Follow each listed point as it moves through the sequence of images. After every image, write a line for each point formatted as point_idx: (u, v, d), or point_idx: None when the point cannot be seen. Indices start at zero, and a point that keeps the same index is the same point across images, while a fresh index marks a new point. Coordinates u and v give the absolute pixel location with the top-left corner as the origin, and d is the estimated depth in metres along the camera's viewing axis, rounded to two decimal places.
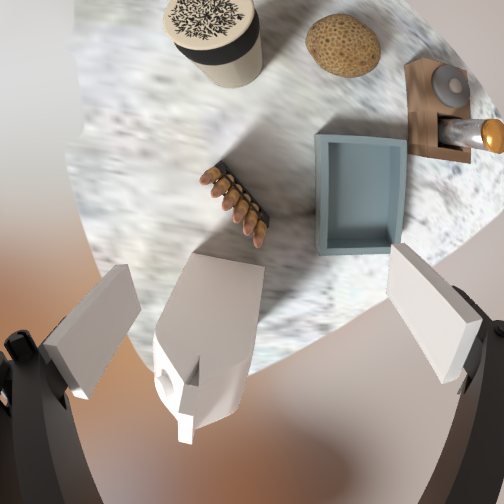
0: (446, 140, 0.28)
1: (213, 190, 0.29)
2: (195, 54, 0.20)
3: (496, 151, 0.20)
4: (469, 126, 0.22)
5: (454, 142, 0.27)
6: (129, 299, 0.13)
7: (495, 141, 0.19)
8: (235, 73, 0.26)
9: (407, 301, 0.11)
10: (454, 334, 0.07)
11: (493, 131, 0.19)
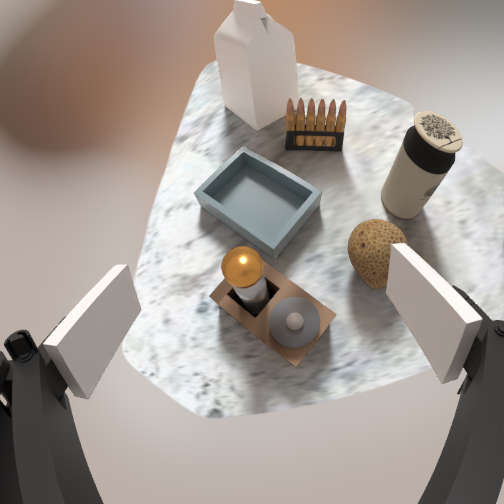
0: None
1: (335, 104, 0.40)
2: None
3: (229, 252, 0.27)
4: None
5: None
6: (129, 299, 0.13)
7: (239, 257, 0.27)
8: (394, 161, 0.38)
9: (407, 301, 0.11)
10: (454, 334, 0.07)
11: (250, 261, 0.27)
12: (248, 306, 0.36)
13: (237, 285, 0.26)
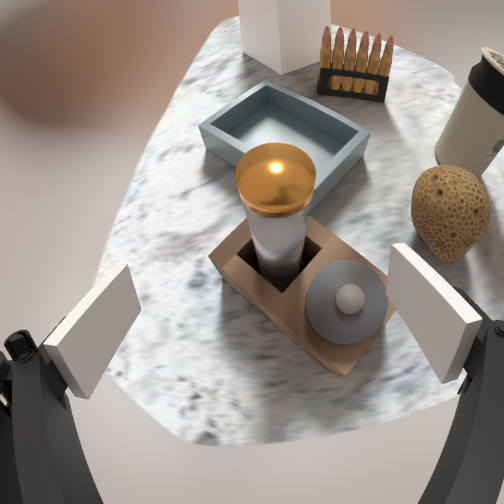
0: None
1: None
2: None
3: (252, 151, 0.14)
4: None
5: None
6: (129, 299, 0.13)
7: (271, 158, 0.13)
8: (455, 107, 0.24)
9: (407, 301, 0.11)
10: (454, 334, 0.07)
11: (292, 165, 0.13)
12: (269, 276, 0.23)
13: (265, 206, 0.13)
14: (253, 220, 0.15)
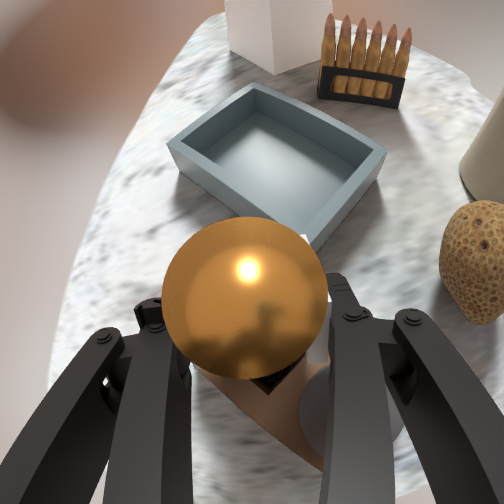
0: None
1: (396, 31, 0.20)
2: None
3: (197, 238, 0.07)
4: None
5: None
6: None
7: (234, 259, 0.07)
8: (489, 119, 0.18)
9: None
10: None
11: (279, 277, 0.06)
12: None
13: (219, 375, 0.06)
14: None
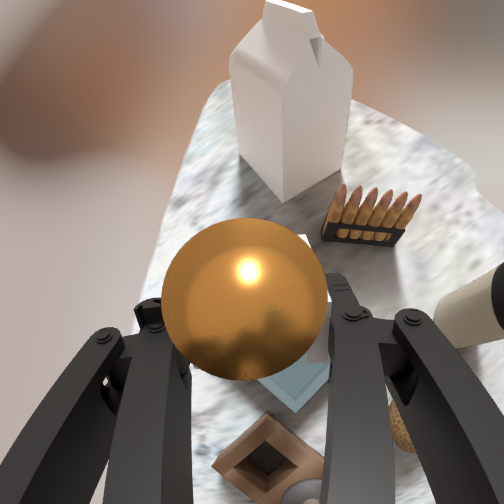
0: None
1: None
2: None
3: (197, 240, 0.07)
4: None
5: None
6: None
7: (234, 261, 0.07)
8: (467, 295, 0.25)
9: None
10: None
11: (279, 278, 0.06)
12: None
13: (219, 376, 0.06)
14: None
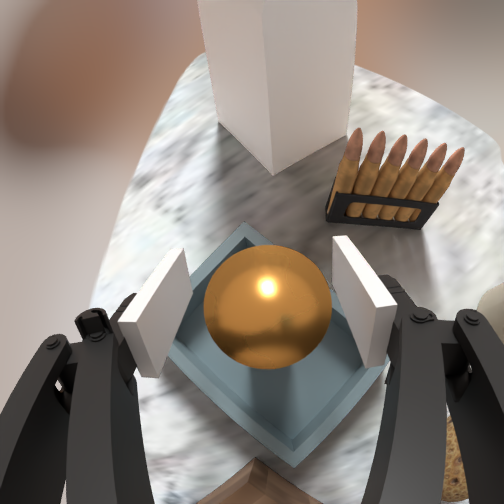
0: None
1: (445, 153, 0.17)
2: None
3: (231, 261, 0.09)
4: None
5: None
6: (185, 282, 0.14)
7: (261, 279, 0.09)
8: None
9: (343, 290, 0.12)
10: (370, 318, 0.09)
11: (295, 292, 0.08)
12: None
13: None
14: None
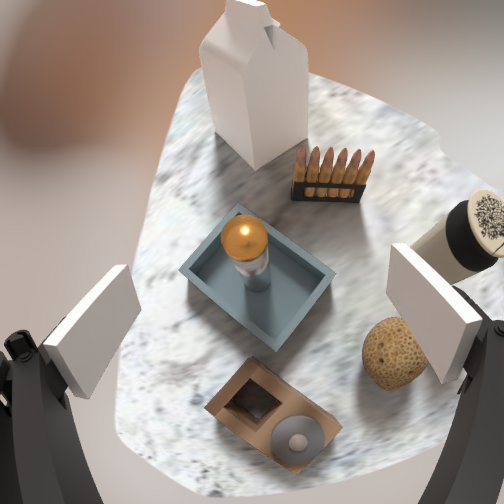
0: None
1: None
2: (465, 202, 0.24)
3: (230, 221, 0.24)
4: None
5: None
6: (129, 299, 0.13)
7: (241, 227, 0.24)
8: (427, 238, 0.30)
9: (407, 301, 0.11)
10: (454, 334, 0.07)
11: (253, 231, 0.23)
12: (248, 284, 0.34)
13: (238, 258, 0.23)
14: (233, 260, 0.25)
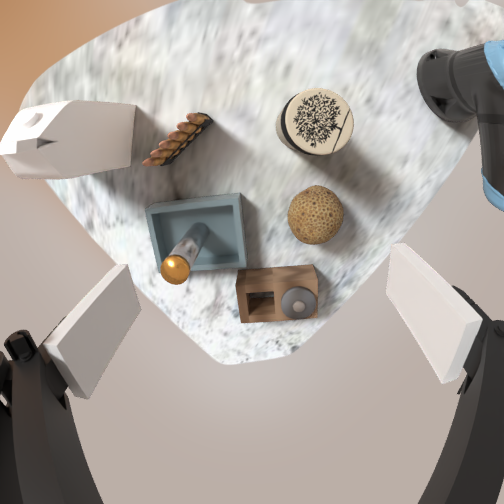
0: (181, 238, 0.44)
1: (182, 124, 0.34)
2: (287, 109, 0.29)
3: (161, 270, 0.36)
4: (182, 248, 0.38)
5: None
6: (129, 299, 0.13)
7: (168, 268, 0.36)
8: (280, 133, 0.37)
9: (407, 301, 0.11)
10: (454, 334, 0.07)
11: (175, 265, 0.36)
12: None
13: (183, 282, 0.37)
14: None
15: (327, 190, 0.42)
